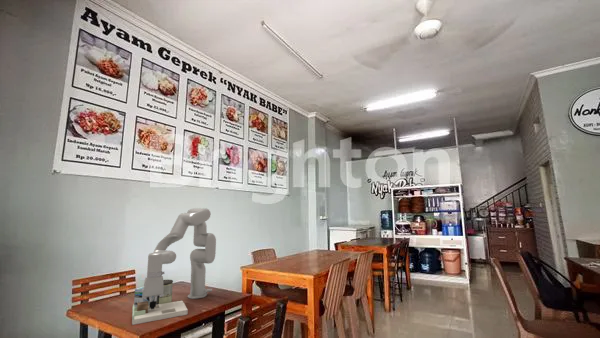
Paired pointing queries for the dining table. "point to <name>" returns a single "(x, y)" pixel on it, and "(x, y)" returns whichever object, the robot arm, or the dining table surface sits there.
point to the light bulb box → (140, 296)
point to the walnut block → (142, 306)
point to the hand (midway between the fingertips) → (152, 308)
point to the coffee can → (166, 292)
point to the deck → (159, 312)
